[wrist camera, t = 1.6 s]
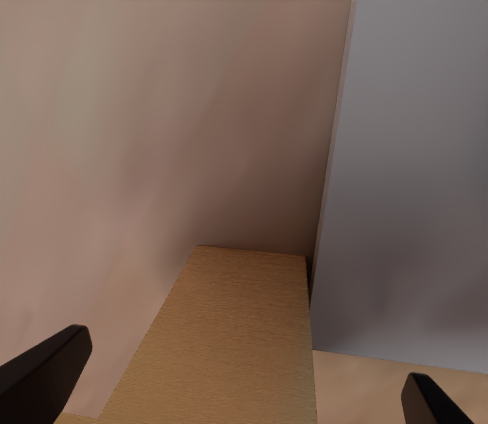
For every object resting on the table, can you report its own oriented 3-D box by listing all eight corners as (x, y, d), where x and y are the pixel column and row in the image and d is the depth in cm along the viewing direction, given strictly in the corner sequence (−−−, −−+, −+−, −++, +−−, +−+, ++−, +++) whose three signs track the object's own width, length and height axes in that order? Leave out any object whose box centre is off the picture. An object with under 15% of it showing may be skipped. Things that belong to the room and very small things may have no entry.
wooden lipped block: (290, 366, 11) (288, 694, 5) (201, 353, 12) (106, 642, 6) (308, 228, 9) (345, 547, 3) (195, 217, 9) (16, 477, 3)
